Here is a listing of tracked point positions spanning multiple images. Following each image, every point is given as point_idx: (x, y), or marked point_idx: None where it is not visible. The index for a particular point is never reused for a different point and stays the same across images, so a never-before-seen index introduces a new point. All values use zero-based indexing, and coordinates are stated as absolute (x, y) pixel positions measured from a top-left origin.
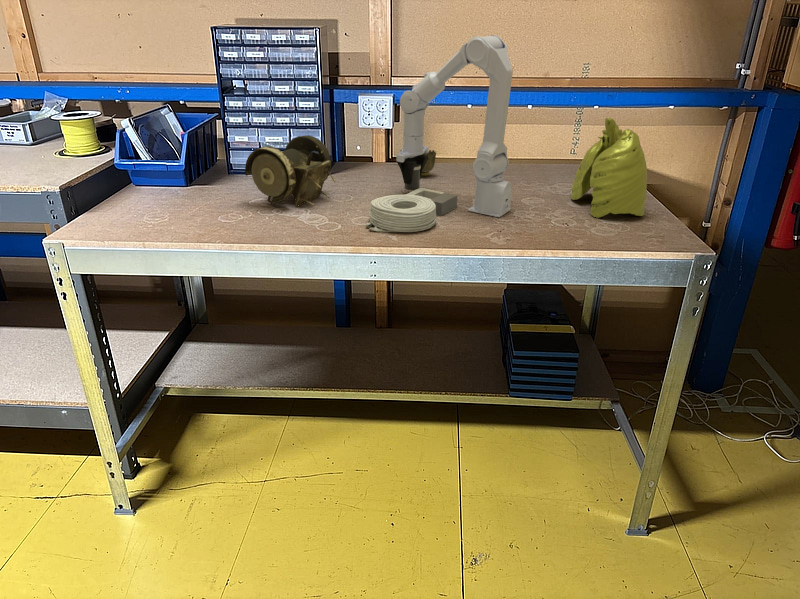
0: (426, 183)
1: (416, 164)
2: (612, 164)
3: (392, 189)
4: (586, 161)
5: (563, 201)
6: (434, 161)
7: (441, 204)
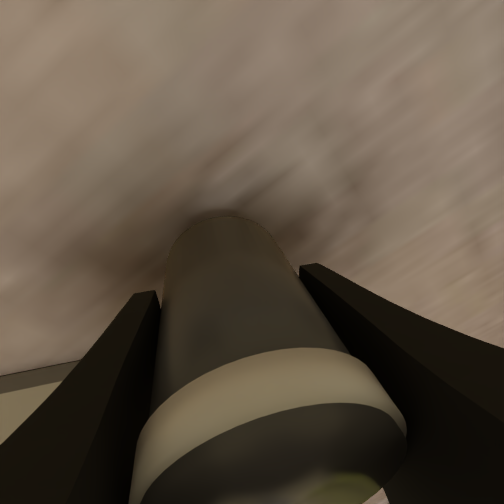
0: (462, 177)
1: (330, 502)
2: None
3: (202, 51)
4: None
5: None
6: None
7: None
